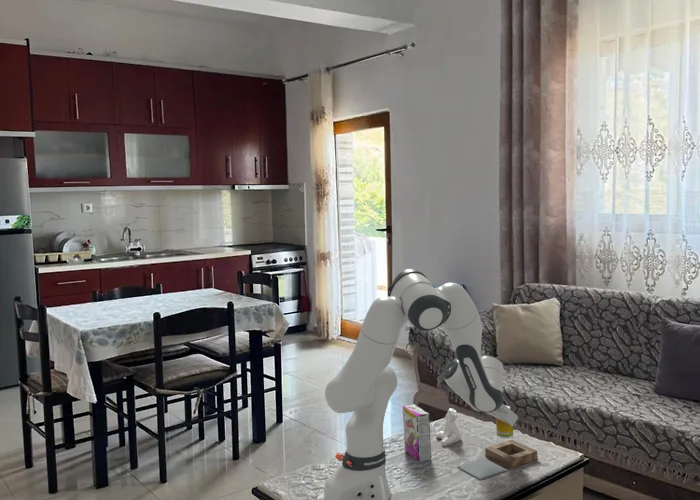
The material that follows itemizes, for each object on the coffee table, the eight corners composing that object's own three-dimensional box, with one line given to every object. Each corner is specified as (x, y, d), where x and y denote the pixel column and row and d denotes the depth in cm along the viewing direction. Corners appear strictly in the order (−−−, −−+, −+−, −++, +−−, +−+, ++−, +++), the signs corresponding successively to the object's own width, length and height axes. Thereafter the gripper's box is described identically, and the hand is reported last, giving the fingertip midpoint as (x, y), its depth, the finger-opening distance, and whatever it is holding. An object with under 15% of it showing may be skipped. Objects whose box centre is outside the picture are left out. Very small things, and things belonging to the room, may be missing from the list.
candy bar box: (403, 451, 232) (401, 405, 230) (416, 448, 234) (414, 403, 232) (418, 463, 222) (416, 415, 220) (432, 460, 224) (430, 413, 222)
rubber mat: (479, 480, 207) (479, 478, 207) (457, 467, 217) (457, 466, 217) (506, 471, 212) (506, 469, 212) (483, 459, 222) (483, 458, 222)
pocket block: (510, 468, 214) (509, 459, 214) (485, 456, 224) (485, 447, 224) (537, 459, 220) (537, 450, 219) (512, 448, 230) (511, 439, 230)
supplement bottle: (513, 439, 217) (513, 410, 216) (496, 438, 218) (496, 409, 217) (512, 432, 222) (512, 404, 221) (496, 432, 223) (495, 404, 222)
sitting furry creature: (434, 437, 243) (433, 405, 242) (457, 434, 245) (455, 402, 244) (442, 447, 234) (441, 414, 233) (465, 444, 236) (464, 411, 234)
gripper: (505, 398, 206) (531, 422, 211) (468, 381, 225) (493, 404, 230) (494, 414, 205) (520, 439, 210) (457, 396, 224) (482, 419, 229)
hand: (506, 420), depth 220 cm, fingers closed on supplement bottle, 5 cm apart
